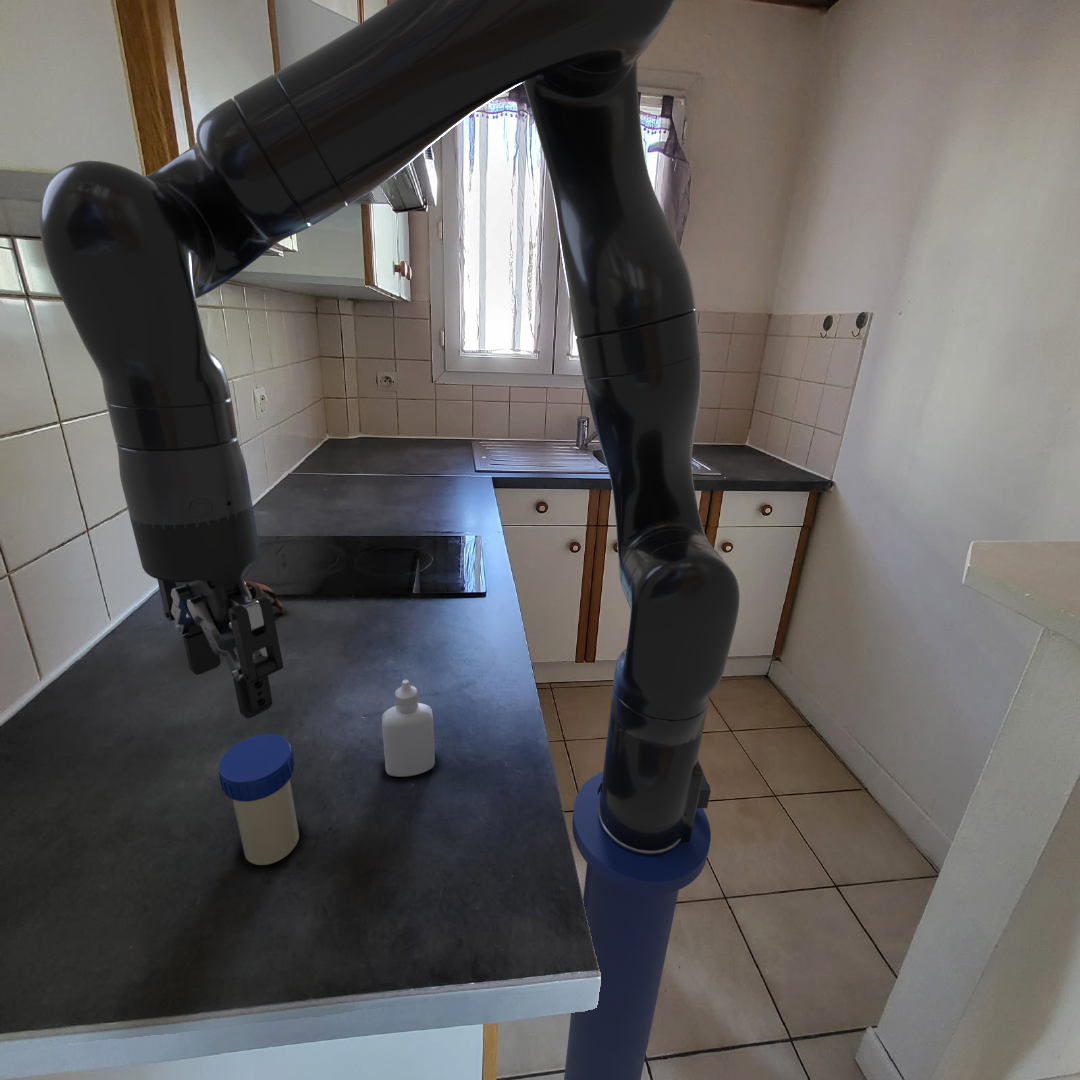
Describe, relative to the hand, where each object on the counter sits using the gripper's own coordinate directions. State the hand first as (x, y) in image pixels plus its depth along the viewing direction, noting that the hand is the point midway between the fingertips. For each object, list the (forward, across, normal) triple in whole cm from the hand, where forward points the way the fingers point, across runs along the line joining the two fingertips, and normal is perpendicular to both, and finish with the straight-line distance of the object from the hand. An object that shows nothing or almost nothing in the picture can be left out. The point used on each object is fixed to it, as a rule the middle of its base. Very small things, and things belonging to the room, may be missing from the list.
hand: (230, 689), depth 46 cm
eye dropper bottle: (+20, -1, -17) cm, 27 cm away
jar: (+20, +2, -2) cm, 20 cm away
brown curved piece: (+20, +45, -21) cm, 54 cm away
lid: (+10, +2, -2) cm, 10 cm away
